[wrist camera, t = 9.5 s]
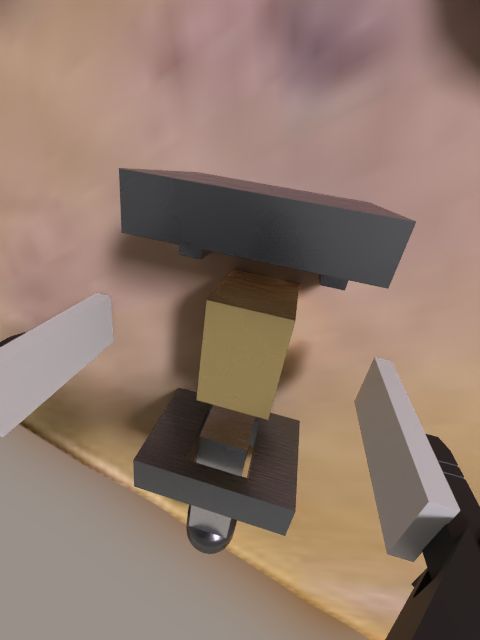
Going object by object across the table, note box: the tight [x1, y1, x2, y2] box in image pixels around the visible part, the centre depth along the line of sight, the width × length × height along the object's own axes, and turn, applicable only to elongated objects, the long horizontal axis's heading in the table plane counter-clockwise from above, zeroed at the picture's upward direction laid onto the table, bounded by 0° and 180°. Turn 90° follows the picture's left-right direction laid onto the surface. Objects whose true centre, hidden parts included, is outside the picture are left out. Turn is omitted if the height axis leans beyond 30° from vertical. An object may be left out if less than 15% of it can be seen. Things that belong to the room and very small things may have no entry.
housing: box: [119, 168, 416, 536], centre depth 16 cm, size 18×9×7 cm, turn 171°
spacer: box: [196, 270, 299, 420], centre depth 16 cm, size 4×6×5 cm, turn 171°
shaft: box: [186, 405, 255, 554], centre depth 21 cm, size 12×4×4 cm, turn 171°
